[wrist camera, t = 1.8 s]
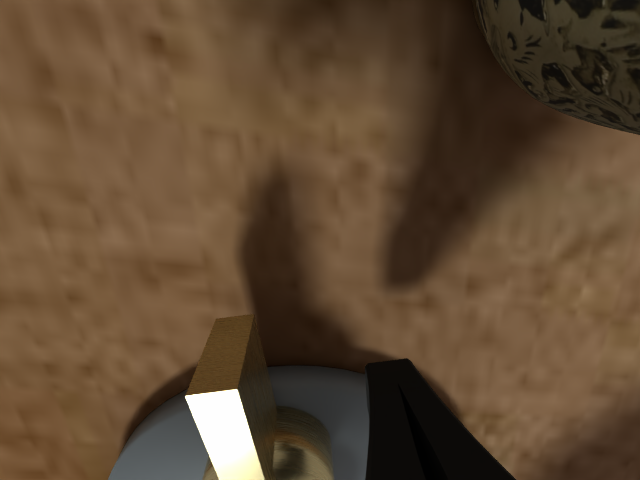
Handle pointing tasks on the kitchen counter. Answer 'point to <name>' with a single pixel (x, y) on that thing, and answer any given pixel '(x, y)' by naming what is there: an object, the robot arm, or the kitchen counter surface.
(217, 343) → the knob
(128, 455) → the plate
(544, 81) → the cup
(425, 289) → the kitchen counter surface
